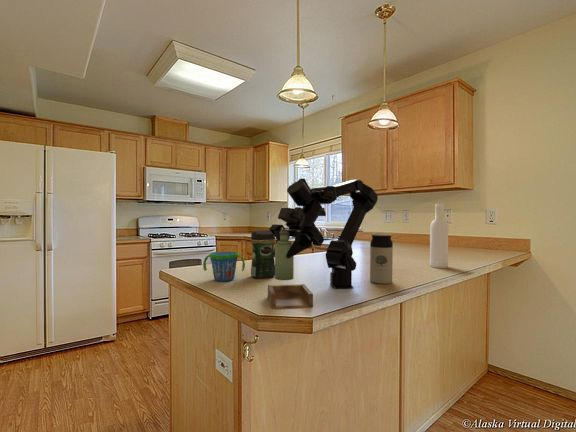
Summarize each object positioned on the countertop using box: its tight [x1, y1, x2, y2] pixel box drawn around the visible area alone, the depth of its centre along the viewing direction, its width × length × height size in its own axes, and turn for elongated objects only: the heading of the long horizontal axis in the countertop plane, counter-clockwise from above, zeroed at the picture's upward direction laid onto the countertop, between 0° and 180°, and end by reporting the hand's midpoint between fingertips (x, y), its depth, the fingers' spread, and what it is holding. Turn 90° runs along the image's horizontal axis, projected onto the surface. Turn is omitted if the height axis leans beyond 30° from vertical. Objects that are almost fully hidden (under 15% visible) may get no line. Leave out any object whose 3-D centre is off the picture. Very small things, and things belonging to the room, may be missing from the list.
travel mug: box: [369, 232, 394, 285], centre depth 117 cm, size 8×8×18 cm
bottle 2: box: [429, 203, 449, 269], centre depth 150 cm, size 8×8×30 cm
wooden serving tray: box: [267, 283, 314, 309], centre depth 90 cm, size 11×11×4 cm
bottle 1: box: [274, 232, 295, 281], centre depth 91 cm, size 5×5×13 cm
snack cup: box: [202, 251, 246, 282], centre depth 119 cm, size 16×10×10 cm
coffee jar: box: [250, 229, 276, 279], centre depth 125 cm, size 10×8×19 cm
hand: (280, 256), depth 90 cm, fingers closed on bottle 1, 5 cm apart
